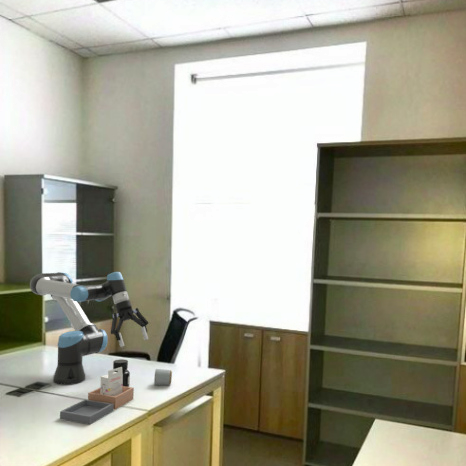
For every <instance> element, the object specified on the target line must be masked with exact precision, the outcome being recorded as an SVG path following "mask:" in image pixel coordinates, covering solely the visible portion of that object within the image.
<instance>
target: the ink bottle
mask: <svg viewBox="0 0 466 466" xmlns="http://www.w3.org/2000/svg"><path fill="white" fill-rule="evenodd" d="M128 362H129V361H128V359H123V358H122V359H121V358H120V359H115V360H113V362H112V370H113V369H116V368H119V367H122V374H123V386H125V387H130V379H131V377H130V375H131V372H130V371H129V370H128V368H129V367H128V364H129V363H128ZM115 372H118V371H115ZM113 373H114V372H113Z"/></svg>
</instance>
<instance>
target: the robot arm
mask: <svg viewBox="0 0 466 466" xmlns="http://www.w3.org/2000/svg"><path fill="white" fill-rule="evenodd" d="M29 289H30V291H31V292H32V293H33V294H35V295H37V296H38V295H39V296H46V295H50V297H51V298H52V300H53V301H57V303H58V304H59V306H60V308H61V310H62V311H63V313H64V314H65V316H66V318H67V319H68V321H69V323H70V324H71V326H72V328H73V329H74V330H73V331H71V330H70V331H67V332H64V333H61V334H60V335H59V336H58V341H57V366H56V369H55V371H54V374H53V378H52V380H53V381H52V382H53V383H54V384H55V385H56V384H57V385H65V386H66V385H74V384H79V383H83V382H84V381H86V372H85V368H84V365H83V357H85V356H90V355H93V354H98V353H101V352H103V351H105V349H106V348H107V346H108V340H109V339H108V334H107V332H106V331H105V330H104V329H101V328H98V326H97V325H96V324H95V323H92V322H91V321H90V320H89V318H88V316H87V315H86V313H85V311H84V310H83V309H82V307H81V304H79V303H82V302H89V301H96V302H103V301H105V300H107V299H108V298H110V297H112V301H113V303H114V304H115V305H114V306H115V309H116V310H115V311H116V312H117V313H116V312H115V313H112V314H111V317H112V321H111V328H110V335H114V336H115V339H116V341H118V344H119V347H120V348H123V347H125V346H126V345H125V343H124V339H123V337H122V333H121V332H120V330H121V328H122V325H123V324H124V322H126V321H129V320H131V321H133V322H134V323H136V324H137V325H138V326H140V330H141V333H142V337H143V340H144V341H147V340H149V336H148V329H147V325H148V324H149V321H148V320H147V319H146V318H145V316H143V314H142V313H141V312H140V309H139V307H136V308H135V309H133V307H132V303H131V300H130V297H129V293H128V291H127V287H126V285H125V279H124V278H123V275H122V273H121V272H120V271H114V272H111V273H108V274H107V276H106V281H105V282H103V283H101V284H89V285H83V284H82V285H81V284H76V283H73V278H72V276H71V275H70V274H68V273H66V272H50V273H49V272H48V273H47V272H45V273H38V274H36V275H34V276H33V277H32V278H31V279H30V281H29ZM118 318H119V320H118ZM117 322H118V323H117Z"/></svg>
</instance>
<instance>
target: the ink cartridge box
mask: <svg viewBox="0 0 466 466" xmlns="http://www.w3.org/2000/svg"><path fill="white" fill-rule="evenodd" d="M115 371H118V372H115ZM113 372H114V373H113ZM122 386H123V374H122V367H119V368H116V369H113V368H112V369H110V370H108V371H107V374H105V375H101V376H100V387H101V390H100V394H102V395H109V396H117V395H119V394H121V393H122Z"/></svg>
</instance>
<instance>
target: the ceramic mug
mask: <svg viewBox="0 0 466 466" xmlns="http://www.w3.org/2000/svg"><path fill="white" fill-rule="evenodd" d="M172 378H173V371H172V369H164V368H155V370H154V379H153V381H154V382H153V385H154V386H170V385H171V384H172Z"/></svg>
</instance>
